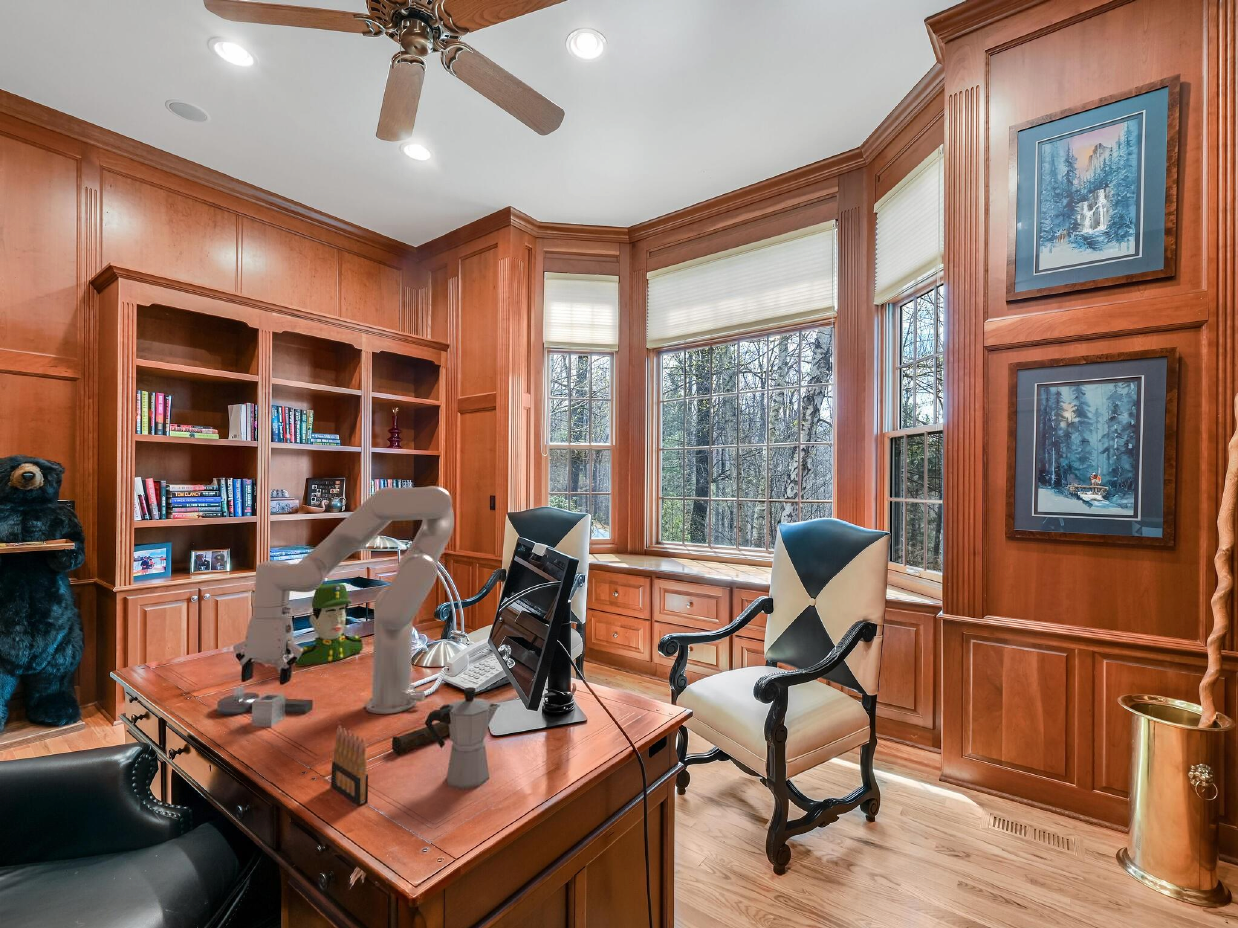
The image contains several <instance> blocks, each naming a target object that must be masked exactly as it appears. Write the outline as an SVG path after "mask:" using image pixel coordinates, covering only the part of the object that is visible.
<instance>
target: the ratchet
mask: <svg viewBox="0 0 1238 928" xmlns="http://www.w3.org/2000/svg"><path fill="white" fill-rule="evenodd" d="M259 697H260V694H258V693H256V692H245V686H242V685H241V686H240V685H238V686H236V687H233V694H230V695H227V696H224V697H222V698H221V699H219V700H217V702H216V703H217V704H216V705H217V706H216V713H217V715H219V716H222V717H231V716H239V715H238V714H240V715H244V714H247V713H250V712H252V701H254V700H255V699H257V698H259ZM313 701H314V700H313V699H303V698H301V699H299V698H297V699H296V698H294V699H293V698H285V714H302V715H303V714H304V715H306V714H308V713H309V712H311V711H312V710H313V706H314V705H313V704H314V703H313ZM243 713H244V714H243Z"/></svg>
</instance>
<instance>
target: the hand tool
mask: <svg viewBox="0 0 1238 928" xmlns="http://www.w3.org/2000/svg"><path fill="white" fill-rule="evenodd" d="M432 724H433V726H434V727H435V729H436V730H437V732H438V733H439V735H440V736H441V738H442V737H446V736H447V737H450V731H449V724H447V723H443V722H439V721H437V722H435V723H432ZM433 741H436V740H435V738H434V737H433V735H432V734H431V732H430V731H429V729H428V728H427V726H425V727H422V728H420V729H416V730H413V731H411V732H408V733H405V734H401V735H399V736H393V737H392V739H391V749H392V752H393V753H394V754H395V755H396V756H401V755H402V753H405V754H407V752H408V751H409V750H412V749H415V748H416V747H420V746H422V745H424V744H427V743H430V742H433Z"/></svg>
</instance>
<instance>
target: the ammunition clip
mask: <svg viewBox="0 0 1238 928" xmlns="http://www.w3.org/2000/svg"><path fill="white" fill-rule="evenodd" d="M334 741H335V743H334V748H333V750H334V751H333V760H332V761H331V774H330V775H331V777H330V788H331V789H332V790H334V791H335V792H337V793H338V794H339V795H341V796H342V797H344V798H345V799H346V800H348V801H349V802H351V804H354V805H355V806H356V807H361V806H362V805H365V804H367V803H368V802H369V801H368V800H369V793H368V792H369V775H368V774H367V755H366V754H367V753H366V742H365V739H364V738H363V737H362V738H360V736H359V735H355V733H354V732H352V734H351V731H350V730H349V729H348V730H346V728H345V727H343V728H342V726H341V725H340V724H339V725H338V727H337V728H336V733H335V740H334Z"/></svg>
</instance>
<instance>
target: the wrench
mask: <svg viewBox="0 0 1238 928" xmlns="http://www.w3.org/2000/svg"><path fill="white" fill-rule="evenodd" d="M293 655H294V652H293V653H292V654H291V655H290V656H291V657H293ZM251 662H253V663H259V664H264V665H269V666H273V667H275V668H276V670H277V672H278V673H279V674H280V670H281V668H283V666H282V665H281V663H280V662H279V660H265V659H253V660H252V661H251Z"/></svg>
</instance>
